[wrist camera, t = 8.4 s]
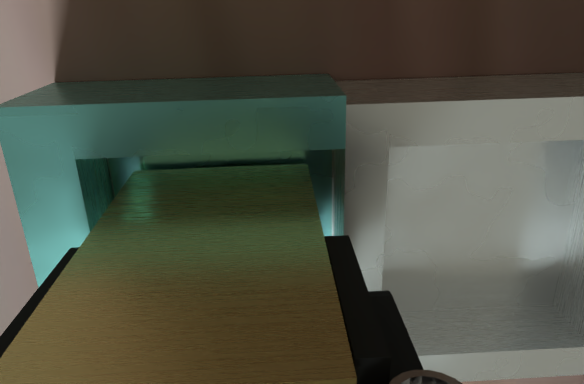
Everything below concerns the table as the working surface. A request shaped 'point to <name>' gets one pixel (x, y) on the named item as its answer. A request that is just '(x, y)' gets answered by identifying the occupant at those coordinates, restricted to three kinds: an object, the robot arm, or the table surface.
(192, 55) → the table surface
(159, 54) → the table surface
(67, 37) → the table surface
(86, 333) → the wooden block
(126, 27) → the table surface
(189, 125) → the rail
